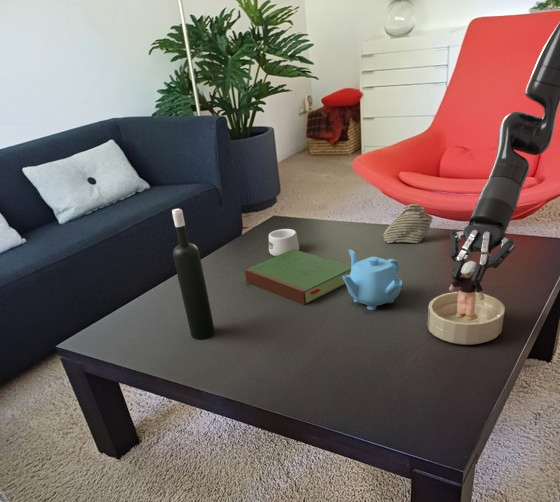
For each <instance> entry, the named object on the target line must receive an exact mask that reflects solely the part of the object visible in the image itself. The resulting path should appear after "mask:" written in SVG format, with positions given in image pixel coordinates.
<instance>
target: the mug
mask: <svg viewBox="0 0 560 502" xmlns="http://www.w3.org/2000/svg"><path fill="white" fill-rule="evenodd" d="M292 249H295V250H298V251H300V245H299V239H298V234H297V231H296V230H294V229H291V228H281V229H276V230H273V231H271V232H269V234H268V253H269V254H270V255H271V256H274V257H276V256H278V255H281V254H283V253H285V252H288V251H290V250H292Z"/></svg>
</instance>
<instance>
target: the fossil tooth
mask: <svg viewBox="0 0 560 502" xmlns="http://www.w3.org/2000/svg"><path fill="white" fill-rule="evenodd" d="M433 219H434V217H433V216H432V215H430V214H429V213H428V212H426V211H425V207H424V206H421V204H419V203H413V204H408V205H405V206H404V208H403V209H402V210H401V212H400V213H398V215H397V216H396V217H395V219H393V221H392V222H391V223H390V224H389V226H387V228H386V229H385V231H384V232H383V240H384V242H385V241H386V242H387V243H386V242H385V243H386V244H390V243H408V244H409V243H410V244H419V243H421V242H422V240H423V239H424V238H425V236H426V235H427V234H428V233H429V231H430V229H431V224H432V223H433Z"/></svg>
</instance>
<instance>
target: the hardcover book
mask: <svg viewBox="0 0 560 502" xmlns="http://www.w3.org/2000/svg"><path fill="white" fill-rule="evenodd" d="M350 273H351V265H348V264H344V263H341V262H337V261H334V260H332V259H327V258H324V257H322V256H318V255H315V254H311V253H307V252H304V251H301V250H295V249H292V250H290V251H288V252H285V253H283V254H281V255H278V256H274V257H272V258H269V259H267V260H264V261H261V262H259V263H256V264H255V265H252V266H250V267H248V268H245V269H244V276H245V281H246V283H247V284H250V285H253V286H255V287H257V288H260V289H263V290H265V291H268V292H271V293H273V294H275V295H278V296H280V297H283V298H285V299H287V300H290V301H293V302H296V303H298V304H300V305H303V306H306V305H308V304H310V303H312V302H314V301H316V300H318V299H320V298H322V297H324V296H327V294H330V293H332V292H333V291H336V290H337V289H340V288H342V287H343V286H346V284H345V282H344V280H343V278H342V277H343V276H345V275H349V276H350Z"/></svg>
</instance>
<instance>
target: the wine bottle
mask: <svg viewBox="0 0 560 502" xmlns="http://www.w3.org/2000/svg"><path fill="white" fill-rule="evenodd" d="M171 214H172V218H173V223H174V226H175V229H176V235H177V239H178V244H177V245H176V246H175V247H174V248H173V251H172V257H173V261H174V266H175V270H176V275H177V279H178V283H179V288H180V292H181V298H182V302H183V305H184V311H185V314H186V319H187V323H188V327H189V332H190V337H191V338H193V339H194V340H206V339H209V338H211V337H212V336H213V337H214V335H215V333H216V330H215V325H214V320H213V314H212V310H211V304H210V299H209V294H208V290H207V289H208V288H207V284H206V278H205V275H204V270H203V264H202V260H201V254H200V250H199V247H198V246H197V245H195V244H194V243H191V242H189V239H188V234H187V229H186V223H185V217H184V212H183V210H182V209H181V208H179V207H178V208H174V209H171Z"/></svg>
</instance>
